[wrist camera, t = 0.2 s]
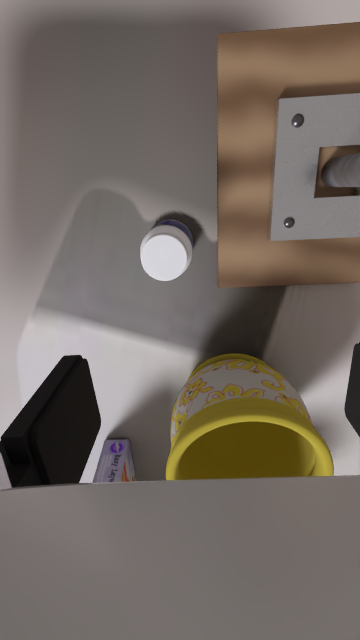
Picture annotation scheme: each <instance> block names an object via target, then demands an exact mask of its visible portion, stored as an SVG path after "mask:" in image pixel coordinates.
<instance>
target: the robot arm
mask: <svg viewBox="0 0 360 640" xmlns="http://www.w3.org/2000/svg"><path fill="white" fill-rule="evenodd" d="M345 415H346V417H347V419H348V421H349V422H350V424H351V425H352V426H353V428H354V429H355V431H356V432H357V434H358V435H359V437H360V342H359V344H356V345H355V346H354V351H353V357H352V363H351V370H350V376H349V383H348V389H347V395H346V402H345ZM100 426H101V417H100V413H99V409H98V404H97V400H96V396H95V391H94V387H93V382H92V378H91V374H90V369H89V365H88V361H87V359H83V358H82V356H81V355H70V356H63V357H62V358H61V360H60V361H59V362H58V364H57V365H56V366H55V368H54V369H53V370H52V371H51V373H50V374H49V375H48V377H47V378H46V379H45V380H44V382H43V383H42V384H41V386H40V387H39V388H38V390H37V391H36V392H35V393H34V395H33V396H32V397H31V399H30V400H29V401H28V403H27V404H26V405H25V406H24V408H23V409H22V410H21V412H20V413H19V414H18V416H17V417H16V418H15V419H14V421H13V422H12V423H11V425H10V426H9V427H8V429H7V430H6V431H5V432H4V434H3V435H2V436H1V441H0V640H360V475H343V476H298V477H261V478H225V479H191V480H161V481H132V482H102V483H79V481H80V479H81V476H82V474H83V471H84V468H85V466H86V463H87V461H88V458H89V455H90V453H91V450H92V448H93V445H94V442H95V440H96V437H97V435H98V432H99V429H100Z"/></svg>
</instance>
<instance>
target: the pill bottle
mask: <svg viewBox="0 0 360 640" xmlns="http://www.w3.org/2000/svg"><path fill="white" fill-rule="evenodd" d="M192 254H193V238H192V234H191V232H190V230H189V229H188V227H187V226H186V225H185V224H183V223H182V222H180V221H178V220H173V219H167V220H163V221H161V222H159V223H157V224H156V225H155V226H154V227H153V228H152V229H151V230H150V231H149V232H148V233H147V234H146V235H145V237H144V239H143V241H142V244H141V248H140V255H141V263H142V266H143V268H144V270H145V271H146V272H147V273H148V274H149V275H150V276H151V277H153V278H155V279H157V280H161V281H169V280H173V279H175V278H177V277H178V276H180V275H181V274H182V273H183V272H184V271H185V270H186V269H187V268H188V266H189V264H190V262H191V259H192Z"/></svg>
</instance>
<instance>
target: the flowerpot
mask: <svg viewBox="0 0 360 640" xmlns="http://www.w3.org/2000/svg"><path fill="white" fill-rule="evenodd" d="M333 474H334V466H333V460H332V456H331V453H330V450H329V448H328V446H327V444H326V443H325V441H324V440H323V438H322V437H321V436H320V435H319V434H318V433H317V431H316V430H315V428H314V427H313V425H312V422H311V419H310V416H309V413H308V411H307V409H306V407H305V404H304V402H303V401H302V399H301V397H300V395H299V394H298V392H297V391H296V390H295V388H294V387H293V386H292V385H291V383H290V382H289V381H288V380H287V379H286V378H285V377H283V376H282V375H281V374H280V373H278V372H277V371H275V370H274V369H272V368H270V367H269V366H268V365H267V364H266V363H264V362H263V361H261V360H259V359H257V358H255V357H252V356H249V355H245V354H237V353H232V354H223V355H219V356H216V357H213V358H211V359H209V360H207V361H205V362H204V363H202V364H201V365H200V366H198V367H197V368H196V369H195V370H194V372H193V373H192V374H191V376H190V377H189V379H188V381H187V383H186V384H185V385H184V387H183V388H182V390H181V391H180V393H179V395H178V397H177V399H176V402H175V405H174V409H173V413H172V419H171V450H170V454H169V457H168V460H167V465H166V480H191V479H225V478H261V477H298V476H333Z"/></svg>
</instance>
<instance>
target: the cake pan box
mask: <svg viewBox="0 0 360 640" xmlns="http://www.w3.org/2000/svg"><path fill="white" fill-rule="evenodd" d="M132 481H136V477H135V472H134V465H133V459H132V454H131V448H130V442H129V440H128V439H122V440H119V439H105V441H104V445H103V448H102V452H101V455H100V458H99V462H98V465H97V469H96V472H95V476H94V479H93V483H102V482H132Z"/></svg>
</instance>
